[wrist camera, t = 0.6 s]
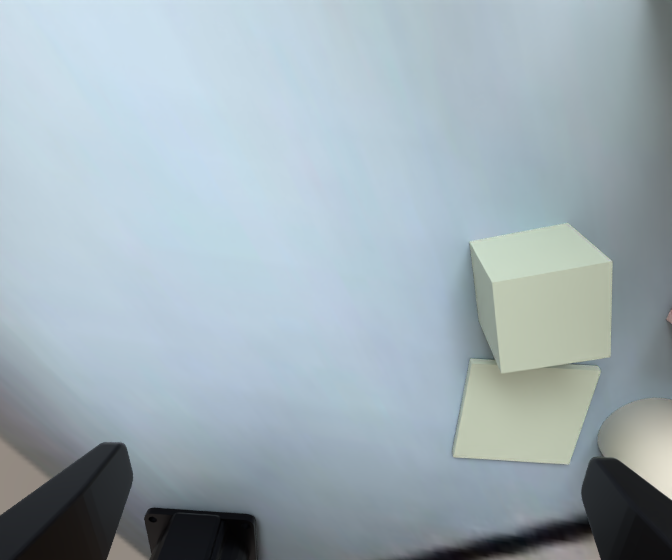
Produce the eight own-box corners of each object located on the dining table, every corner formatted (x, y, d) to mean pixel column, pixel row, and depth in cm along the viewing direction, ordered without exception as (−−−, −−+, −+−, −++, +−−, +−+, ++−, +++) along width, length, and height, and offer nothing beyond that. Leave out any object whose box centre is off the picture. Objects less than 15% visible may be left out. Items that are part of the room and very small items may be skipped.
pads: (818, 474, 25) (824, 480, 25) (452, 451, 25) (453, 457, 25) (879, 381, 22) (888, 387, 22) (470, 358, 23) (471, 363, 22)
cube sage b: (568, 305, 21) (610, 357, 18) (478, 320, 22) (501, 373, 18) (566, 222, 20) (612, 261, 16) (468, 240, 20) (492, 282, 17)
